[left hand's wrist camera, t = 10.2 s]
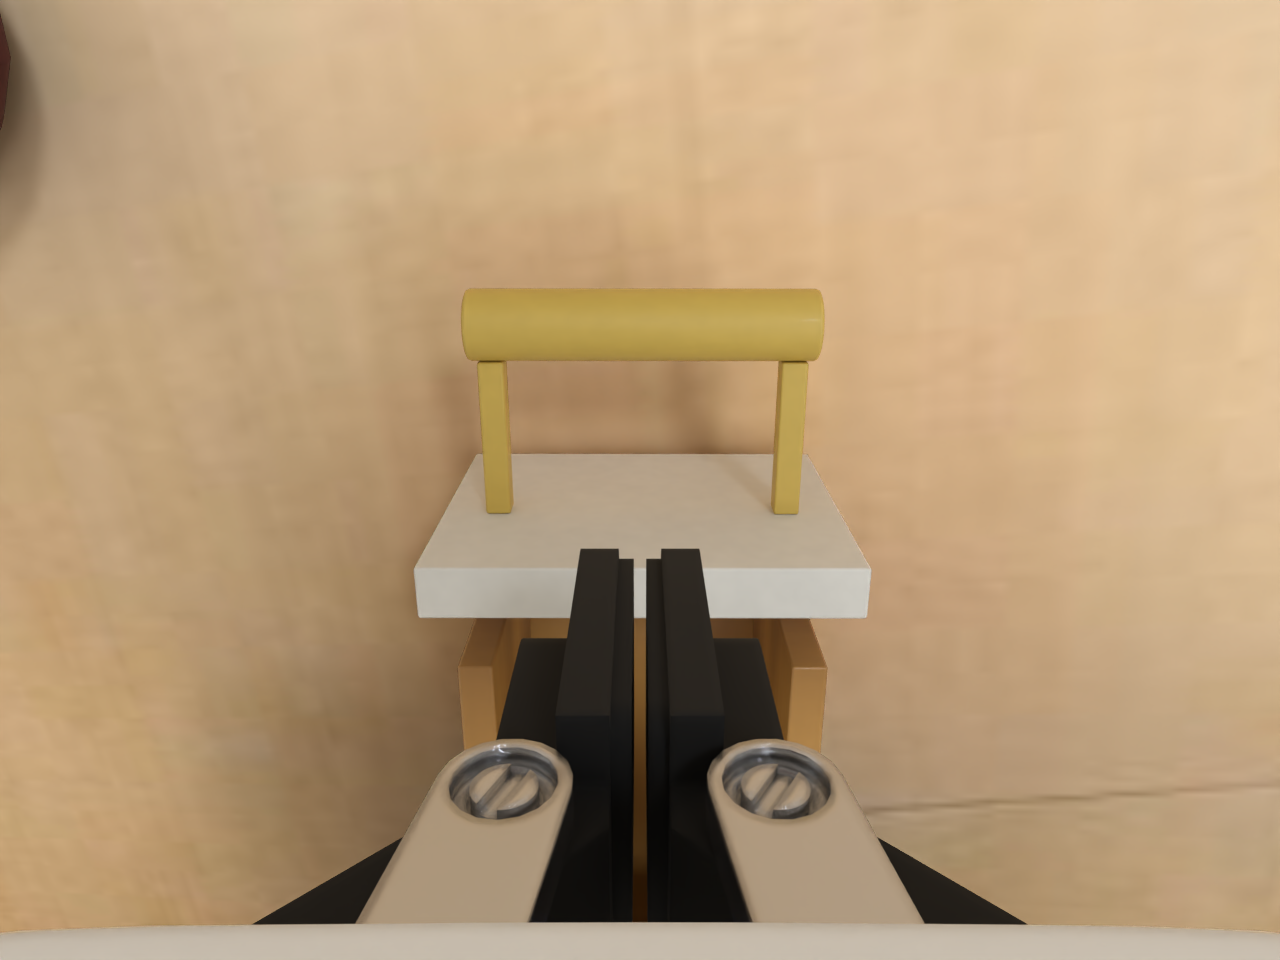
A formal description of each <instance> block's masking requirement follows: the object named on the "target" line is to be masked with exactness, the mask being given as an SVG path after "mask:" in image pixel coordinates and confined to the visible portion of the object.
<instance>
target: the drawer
mask: <svg viewBox="0 0 1280 960" xmlns="http://www.w3.org/2000/svg"><path fill="white" fill-rule="evenodd" d="M461 332H462V341H463V347H464V351H465V354H466V356H467V358H468V359H469V360H472V361H479V362H478V364H477V373H478V389H479V405H480V420H481V436H482V452H483V454H476V456H475V458H474V460H473V462H472V463H471V465H470V467H469V469H468V471H467V473H466V474H465V476H464V478H463V480H462V482H461V483H460V485H459V487H458V489H457V491H456V493H455V494H454V496H453V498H452V500H451V502H450V504H449V505H448V507H447V509H446V511H445V513H444V515H443V516H442V518H441V520H440V522H439V524H438V526H437V527H436V529H435V531H434V533H433V535H432V536H431V538H430V540H429V542H428V544H427V546H426V547H425V549H424V551H423V553H422V555H421V557H420V558H419V560H418V562H417V564H416V566H415V568H414V579H415V590H416V600H417V610H418V616H419V617H420V618H475V620H474V623H473V626H472V629H471V632H470V634H469V637H468V640H467V643H466V646H465V648H464V651H463V654H462V657H461V660H460V662H459V665H458V668H457V669H458V681H459V693H460V706H461V718H462V730H463V743H464V750H466V749H469V748H471V747H474V746H476V745H479V744H481V743H485V742H490V741H495V740H496V738H497V734H498V730H499V726H500V722H501V718H502V714H503V710H504V706H505V702H506V697H507V693H508V689H509V685H510V681H511V677H512V673H513V669H514V665H515V661H516V657H517V653H518V649H519V645H520V642H521V639H523V638H567V634H568V628H569V621H570V614H571V608H572V601H573V594H574V588H575V581H576V575H577V568H578V561H579V555H580V549H619V559H634V824H633V922H647V824H646V559H661V549H700V555H701V561H702V568H703V575H704V581H705V588H706V594H707V601H708V608H709V614H710V621H711V628H712V634H713V638H757V639H759V642H760V645H761V649H762V653H763V657H764V661H765V665H766V669H767V673H768V677H769V681H770V685H771V689H772V693H773V697H774V702H775V706H776V710H777V714H778V718H779V722H780V726H781V730H782V734H783V738H784V740H785V741H790V742H795V743H799V744H801V745H804V746H806V747H809V748H811V749H814V750H816V751H818V752H819V753H820V750H821V738H822V727H823V715H824V703H825V692H826V680H827V666H826V663H825V660H824V657H823V655H822V652H821V649H820V646H819V644H818V641H817V638H816V635H815V633H814V630H813V627H812V624H811V622H810V619H809V618H866V617H867V611H868V601H869V591H870V581H871V571H872V570H871V568H870V566H869V564H868V562H867V561H866V559H865V557H864V555H863V553H862V552H861V550H860V548H859V546H858V544H857V543H856V541H855V539H854V537H853V535H852V534H851V532H850V530H849V528H848V526H847V525H846V523H845V521H844V519H843V517H842V516H841V514H840V512H839V510H838V508H837V507H836V505H835V503H834V501H833V499H832V498H831V496H830V494H829V492H828V490H827V489H826V487H825V485H824V483H823V481H822V480H821V478H820V476H819V474H818V472H817V471H816V469H815V467H814V465H813V463H812V462H811V460H810V458H809V456H808V455H807V454H802V453H803V438H804V424H805V409H806V394H807V379H808V363H807V362H806V361H815V360H817V359H818V357H819V355H820V352H821V349H822V344H823V337H824V303H823V298H822V295H821V292H820V291H819V290H817V289H468V290H466V291H465V293H464V296H463V300H462V308H461ZM506 361H779V364H778V382H777V400H776V418H775V436H774V454H511V441H510V422H509V403H508V384H507V365H506Z"/></svg>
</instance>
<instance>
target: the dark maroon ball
mask: <svg viewBox="0 0 1280 960" xmlns="http://www.w3.org/2000/svg"><path fill="white" fill-rule="evenodd" d="M10 58H11V57H10V53H9V49H8V44H7V40H6V36H5V32H4V28H3V24H2V19H1V15H0V130H1V128H2V123H3V117H4V111H5V102H6V93H7V84H8V76H9V67H10Z"/></svg>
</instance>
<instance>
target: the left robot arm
mask: <svg viewBox="0 0 1280 960" xmlns="http://www.w3.org/2000/svg"><path fill="white" fill-rule="evenodd" d="M633 824H634V559H619V549H580V555H579V561H578V568H577V575H576V581H575V588H574V594H573V601H572V608H571V614H570V621H569V628H568V634H567V638H523V639H521V642H520V645H519V649H518V653H517V657H516V661H515V665H514V669H513V673H512V677H511V681H510V685H509V689H508V693H507V697H506V702H505V706H504V710H503V714H502V718H501V722H500V726H499V730H498V734H497V738H496V740H495V741H490V742H485V743H481V744H479V745H476V746H474V747H471V748H469V749H466V750H464V751H462V752H461V753H460V754H458V755H457V756H455V757H454V758H453V759H451V760H450V761H448V763H447V764H446V765H445V766H444V767H443V769H442V770H441V771H440V772H439V774H438V775H437V777H436V779H435V780H434V782H433V784H432V786H431V788H430V790H429V791H428V793H427V795H426V797H425V799H424V800H423V802H422V804H421V806H420V808H419V809H418V811H417V813H416V815H415V817H414V818H413V820H412V822H411V824H410V826H409V827H408V829H407V831H406V833H405V835H404V836H403V837H402V838H401V839H399V840H397V841H395V842H394V843H392V844H390V845H389V846H387V847H385V848H383V849H382V850H380V851H378V852H376V853H375V854H373V855H371V856H370V857H368V858H366V859H364V860H363V861H361V862H359V863H357V864H356V865H354V866H352V867H351V868H349V869H347V870H345V871H344V872H342V873H340V874H338V875H337V876H335V877H333V878H332V879H330V880H328V881H326V882H325V883H323V884H321V885H319V886H318V887H316V888H314V889H313V890H311V891H309V892H307V893H306V894H304V895H302V896H300V897H299V898H297V899H295V900H294V901H292V902H290V903H288V904H287V905H285V906H283V907H282V908H280V909H278V910H276V911H275V912H273V913H271V914H269V915H268V916H266V917H264V918H263V919H261V920H259V921H257V922H256V923H254V924H252V925H163V926H126V927H100V928H73V929H47V930H22V931H12V932H2V933H0V960H1280V933H1278V932H1268V931H1258V930H1234V929H1207V928H1181V927H1154V926H1117V925H1028V924H1026V923H1024V922H1023V921H1021V920H1019V919H1017V918H1016V917H1014V916H1012V915H1011V914H1009V913H1007V912H1005V911H1004V910H1002V909H1000V908H998V907H997V906H995V905H993V904H992V903H990V902H988V901H986V900H985V899H983V898H981V897H980V896H978V895H976V894H974V893H973V892H971V891H969V890H967V889H966V888H964V887H962V886H961V885H959V884H957V883H955V882H954V881H952V880H950V879H948V878H947V877H945V876H943V875H942V874H940V873H938V872H936V871H935V870H933V869H931V868H929V867H928V866H926V865H924V864H923V863H921V862H919V861H917V860H916V859H914V858H912V857H910V856H909V855H907V854H905V853H904V852H902V851H900V850H898V849H897V848H895V847H893V846H891V845H890V844H888V843H886V842H885V841H883V840H881V839H879V838H878V837H877V836H876V835H875V833H874V831H873V829H872V827H871V826H870V824H869V822H868V820H867V818H866V817H865V815H864V813H863V811H862V809H861V808H860V806H859V804H858V802H857V800H856V799H855V797H854V795H853V793H852V791H851V790H850V788H849V786H848V784H847V782H846V781H845V779H844V777H843V775H842V774H841V772H840V771H839V770H838V769H837V767H836V766H835V765H834V764H833V763H832V761H830V760H829V759H827V758H826V757H825V756H823V755H822V754H820V753H819V752H818V751H816V750H814V749H811V748H809V747H806V746H804V745H801V744H799V743H795V742H790V741H785V740H784V738H783V734H782V730H781V726H780V722H779V718H778V714H777V710H776V706H775V702H774V697H773V693H772V689H771V685H770V681H769V677H768V673H767V669H766V665H765V661H764V657H763V653H762V649H761V645H760V642H759V639H757V638H713V634H712V628H711V621H710V614H709V608H708V601H707V594H706V588H705V581H704V575H703V568H702V561H701V555H700V549H661V559H646V824H647V922H633Z"/></svg>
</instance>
